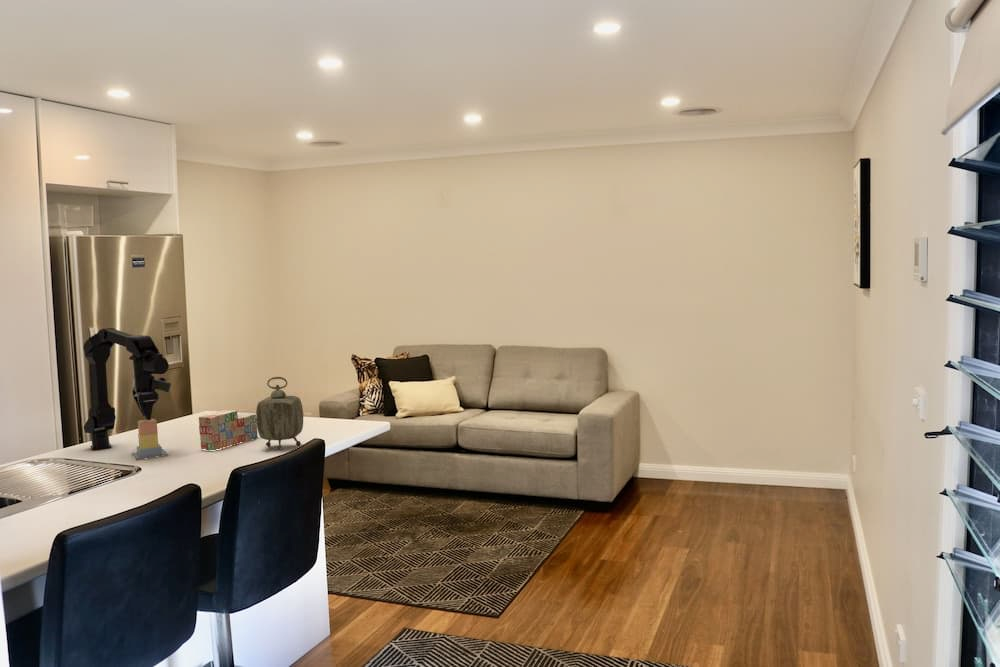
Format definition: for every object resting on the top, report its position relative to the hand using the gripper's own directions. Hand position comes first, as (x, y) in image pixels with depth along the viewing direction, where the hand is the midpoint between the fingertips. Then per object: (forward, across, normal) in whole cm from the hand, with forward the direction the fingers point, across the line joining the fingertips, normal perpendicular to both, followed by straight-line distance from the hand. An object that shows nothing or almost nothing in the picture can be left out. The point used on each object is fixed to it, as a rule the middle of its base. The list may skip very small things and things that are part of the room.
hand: (146, 418), depth 288 cm
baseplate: (+13, 0, 0) cm, 13 cm away
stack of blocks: (+13, -1, -27) cm, 30 cm away
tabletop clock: (+13, -20, -40) cm, 47 cm away
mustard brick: (+10, 0, 0) cm, 10 cm away
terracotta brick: (+6, 0, 0) cm, 6 cm away
